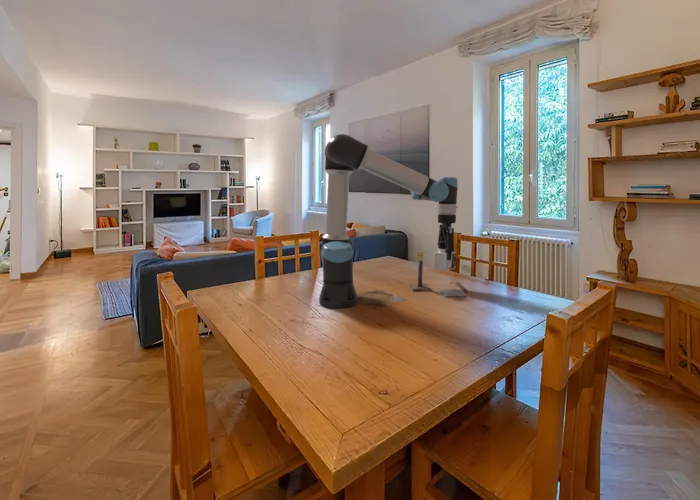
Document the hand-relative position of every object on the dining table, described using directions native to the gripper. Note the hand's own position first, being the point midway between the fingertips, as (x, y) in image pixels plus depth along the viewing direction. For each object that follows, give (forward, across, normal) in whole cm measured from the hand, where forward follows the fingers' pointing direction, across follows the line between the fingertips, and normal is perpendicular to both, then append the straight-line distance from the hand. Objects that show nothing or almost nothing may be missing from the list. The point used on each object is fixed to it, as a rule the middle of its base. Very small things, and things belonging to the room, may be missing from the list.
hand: (444, 264), depth 167 cm
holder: (+11, 0, +3) cm, 11 cm away
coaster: (+11, -9, -2) cm, 14 cm away
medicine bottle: (+2, 0, 0) cm, 2 cm away
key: (-2, +4, +9) cm, 10 cm away
